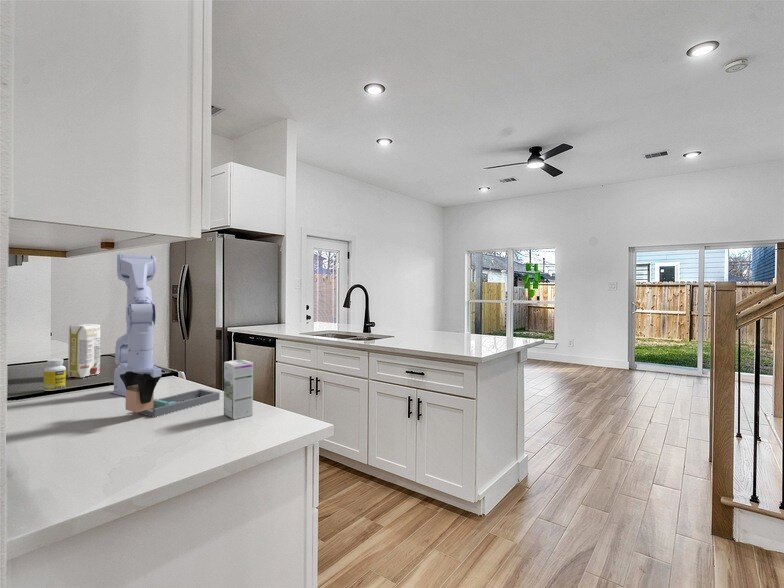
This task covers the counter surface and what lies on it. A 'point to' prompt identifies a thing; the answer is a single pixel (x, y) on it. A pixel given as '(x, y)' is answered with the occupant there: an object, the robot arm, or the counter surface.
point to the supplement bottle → (54, 374)
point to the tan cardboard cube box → (136, 400)
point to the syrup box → (238, 389)
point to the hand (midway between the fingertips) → (139, 401)
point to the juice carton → (84, 350)
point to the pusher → (161, 403)
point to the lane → (205, 397)
